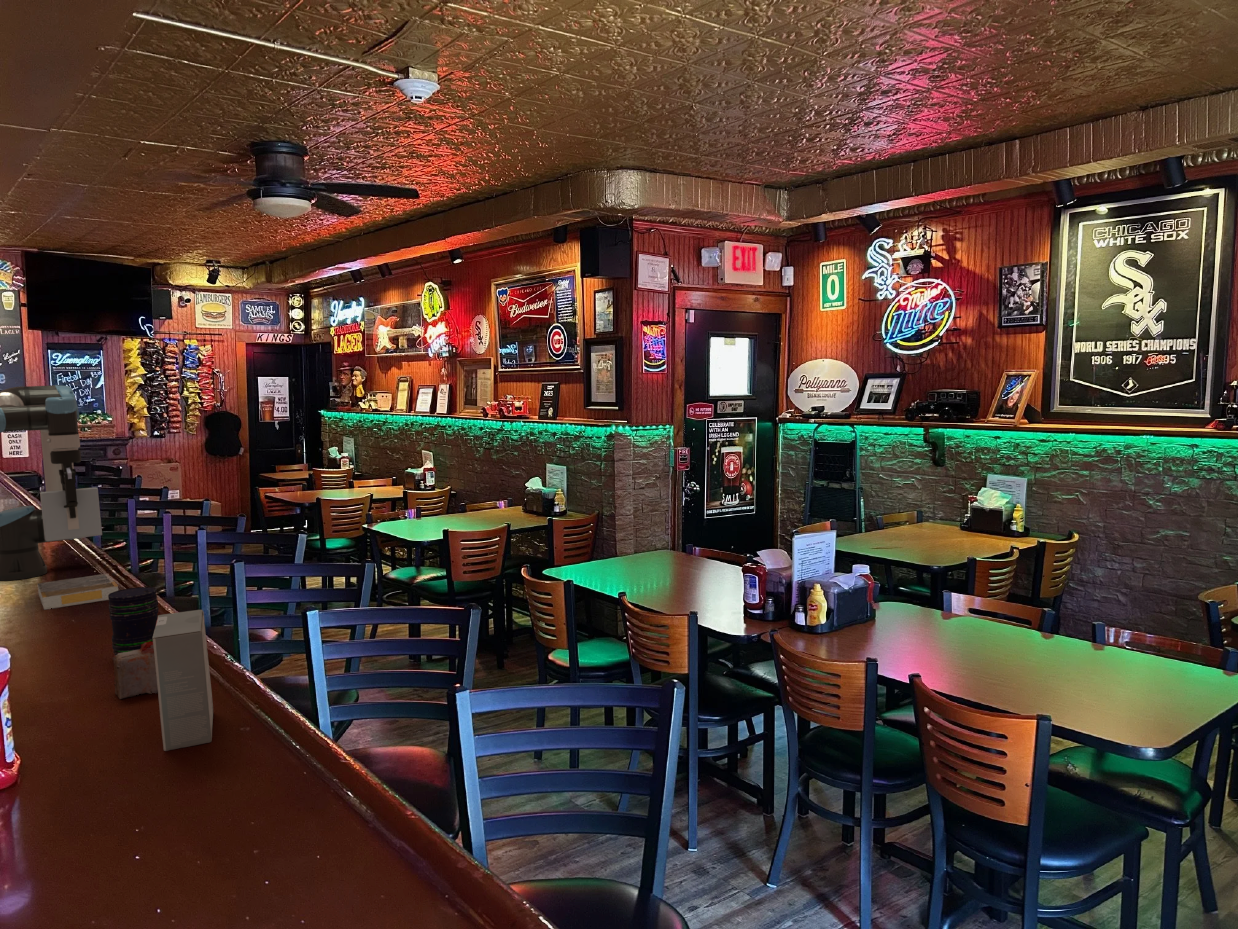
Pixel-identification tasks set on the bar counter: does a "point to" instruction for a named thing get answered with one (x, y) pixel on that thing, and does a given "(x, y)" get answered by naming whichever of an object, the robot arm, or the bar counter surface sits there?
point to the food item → (135, 672)
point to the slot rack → (76, 591)
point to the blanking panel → (57, 514)
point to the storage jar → (132, 617)
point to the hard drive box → (183, 679)
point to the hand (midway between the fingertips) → (72, 528)
